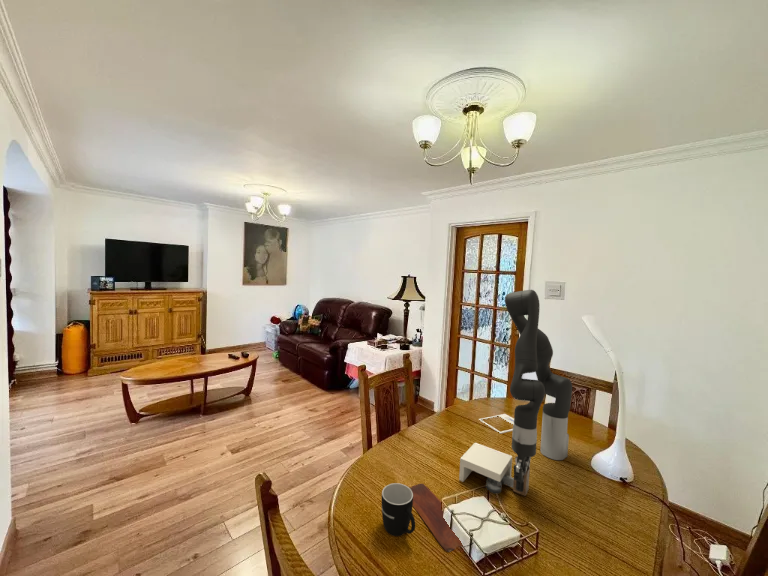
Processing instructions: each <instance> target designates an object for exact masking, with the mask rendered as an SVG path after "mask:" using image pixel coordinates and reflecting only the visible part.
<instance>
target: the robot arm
mask: <svg viewBox="0 0 768 576" xmlns="http://www.w3.org/2000/svg"><path fill="white" fill-rule="evenodd" d="M504 303H505V307H506V311H507V312H508V315H509V316H510V318H511V321H512V322H513V323H514V325H515V327H516V329H517V331H518V333H519V336H518V338H517V340H516V343H515V346H514V363H515V364H514V372H513V376H512V379H511V383H510V386H509V388H510V389H509V391H510V392H509V393H510V394H511V396H512V398H513V399H514V400H517V401H524V402H525V401H526V402H528V403H526V404H519V405H517V406H515V407H514V414H513V415H514V416H513V418H514V425H512V429H513V431H511V432H512V433H511V434H512V435H511V449H512V451H513V452H514V453H515V454H516V456H515V460H514V461H515V464H514V465H513V478H514V480H516V490H518V491H520V492H523V487H524V476H525V475H526V472H527V467H528V468H529V467H530V466H531V460H532V459H531V458H533V457H535V456H536V455H537V439H538V438H537V437H538V429H537V426H538V425H537V424H538V414H539V411H540V409H541V406H542V403H543V401H544V398H545V395H547V396H549V397H552V398H555V400H554V401H555V402H547V403H544V404H543V407H542V421H541V432H540V433H541V436H540V438H541V439H540V453H541V454H542V455H543V456H544V457H546V458H548V459H551V460H555V461H563V460H565V459H566V458H568V451H569V440H570V438H569V437H570V436H569V433H568V422H569V421H568V420H569V413H570V410H571V409H570V408H571V403H572V395H573V394H572V393H573V383H572V381H571V380H570V379H569V378H567V377H564V376H562V375H558V374H556V373H553V372H552V371H551V368H550V362H551V361H552V358H553V355H554V350H553V346H552V344H551V342H550V338H549V337H548V335H547V334H546V333H545V332H544V331H543V330H541V329H540V328H539V321H540V310H541V309H540V299H539V295H538V293H537V292H536V291H535V290H534V289H526V290H525V289H524V290H519V291H513V292H510V293H507V294H506V295H505V297H504ZM526 316H527V318H526ZM532 373H535V374H536V379H530V378H529V379H528V378H523V377H522V376H523V375H524V374H532ZM530 468H531V467H530ZM523 470H524V471H523Z"/></svg>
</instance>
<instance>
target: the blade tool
mask: <svg viewBox="0 0 768 576" xmlns="http://www.w3.org/2000/svg"><path fill="white" fill-rule="evenodd" d="M530 470H531V467H529V468H528V467H527V472H526V475H525V476H524V487H523V492H520V491H518V490H516V480H514V477H512V476H511V477H510V476H507V475H504V476H503V478H502V479H501V481H500V482H501V483H502V485H505V486H508V487H510V488H512V491H513V492H515V493H517V494H519V495H521V496H524V497H526V495H527V494H528V492H529V488H530V487H529V486H530V485H529V484H530V472H531V471H530ZM523 471H524V470H523ZM478 474H479V475H481V474H480V473H478ZM485 477H487V476H485ZM487 478H488V477H487Z"/></svg>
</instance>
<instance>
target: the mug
mask: <svg viewBox="0 0 768 576" xmlns="http://www.w3.org/2000/svg"><path fill="white" fill-rule="evenodd" d="M381 516H382V517H381V518H382V523H383V527H384V529H385V532H386V533H387V534H389V535H390V536H393V537H401V536H403V535H404V534H410V535H411V534H412V533H414V531H415V529H416V519H415V516H414V514H413V493H412V491H411V489H410V486H407V485H405V484H403V483H399V482H398V483H397V482H394V483H393V482H392V483H389V484H388V485H385V486H384V487H383V489H382V491H381ZM410 525H411V526H410ZM409 526H410V527H411V528H410V529H409Z"/></svg>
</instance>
